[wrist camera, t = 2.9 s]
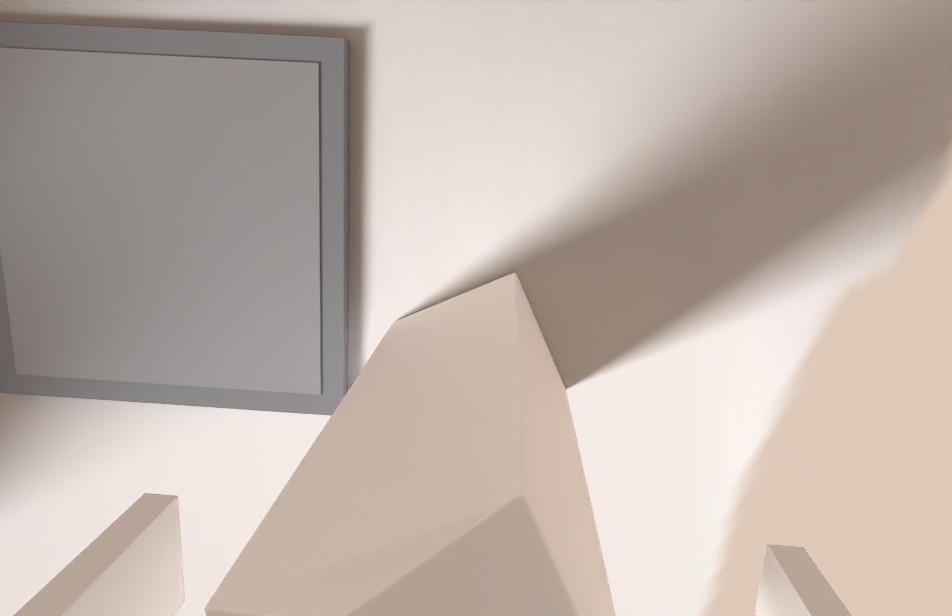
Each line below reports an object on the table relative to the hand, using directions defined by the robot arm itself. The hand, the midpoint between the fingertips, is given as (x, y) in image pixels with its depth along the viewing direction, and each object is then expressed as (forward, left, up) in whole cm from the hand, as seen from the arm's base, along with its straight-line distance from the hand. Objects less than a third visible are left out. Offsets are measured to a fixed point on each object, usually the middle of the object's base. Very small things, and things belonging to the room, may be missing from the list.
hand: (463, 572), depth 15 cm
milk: (0, 0, -16) cm, 16 cm away
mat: (-14, +5, -15) cm, 22 cm away
